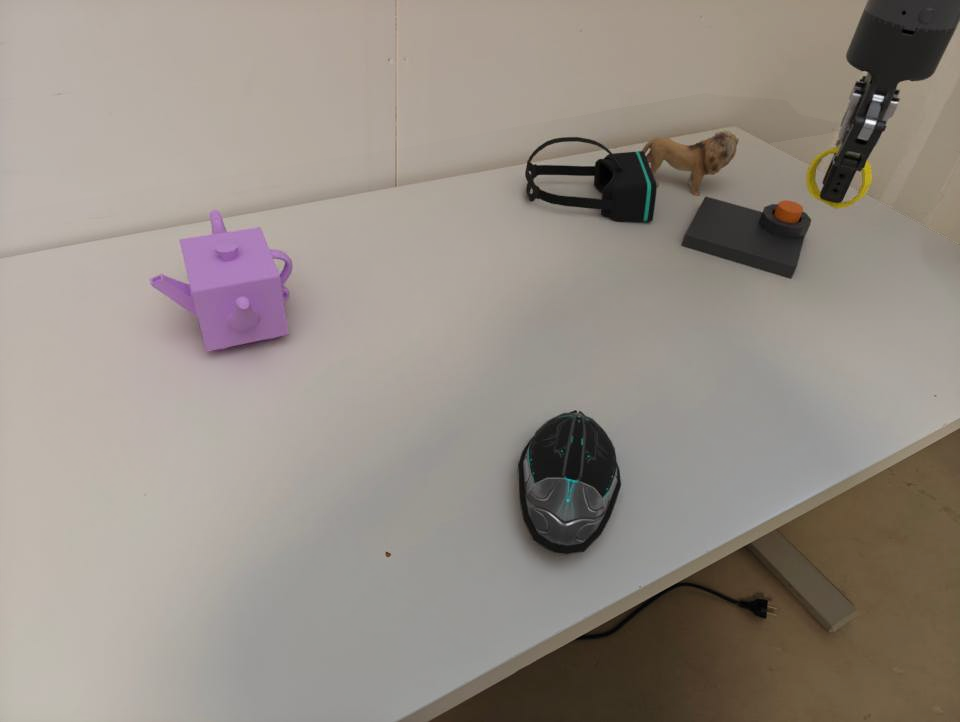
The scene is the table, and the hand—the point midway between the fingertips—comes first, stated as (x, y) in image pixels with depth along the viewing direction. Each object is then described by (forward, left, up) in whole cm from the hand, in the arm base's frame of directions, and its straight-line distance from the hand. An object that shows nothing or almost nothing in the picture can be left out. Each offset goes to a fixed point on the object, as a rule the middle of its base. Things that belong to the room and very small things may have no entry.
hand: (831, 192), depth 71 cm
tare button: (+3, -17, -12) cm, 21 cm away
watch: (0, 0, -1) cm, 1 cm away
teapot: (+51, +35, -15) cm, 63 cm away
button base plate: (+7, -13, -15) cm, 21 cm away
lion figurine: (+19, -24, -15) cm, 34 cm away
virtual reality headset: (+29, -11, -15) cm, 34 cm away
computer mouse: (+13, +37, -15) cm, 42 cm away
